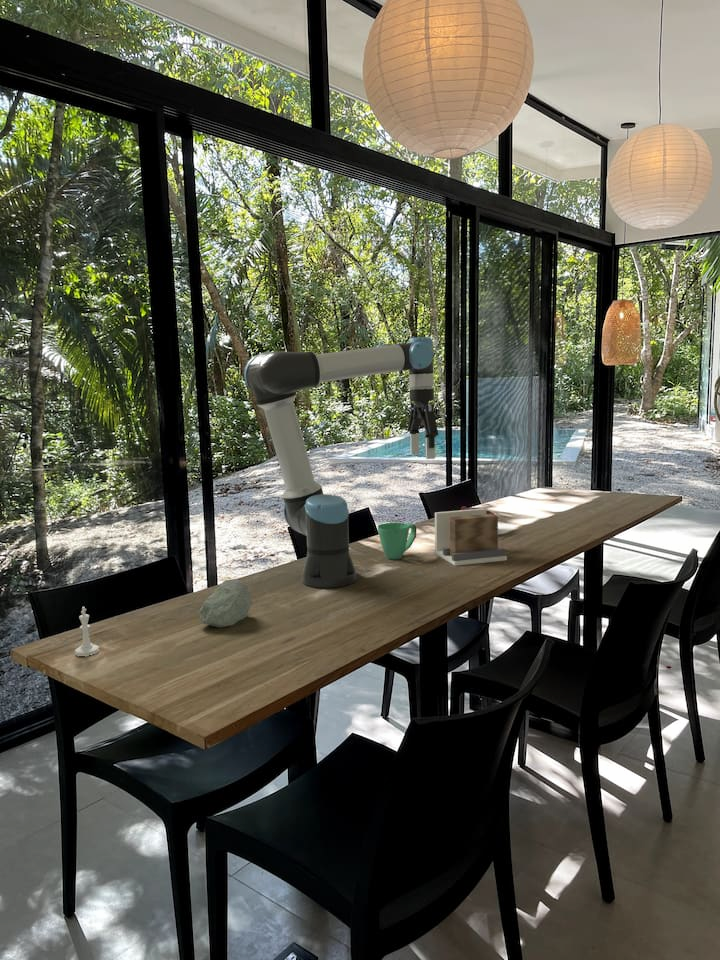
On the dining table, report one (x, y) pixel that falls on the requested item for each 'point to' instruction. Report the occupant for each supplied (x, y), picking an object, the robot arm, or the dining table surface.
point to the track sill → (464, 557)
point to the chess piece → (86, 638)
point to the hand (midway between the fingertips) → (422, 456)
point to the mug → (396, 538)
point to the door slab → (473, 533)
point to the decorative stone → (226, 604)
